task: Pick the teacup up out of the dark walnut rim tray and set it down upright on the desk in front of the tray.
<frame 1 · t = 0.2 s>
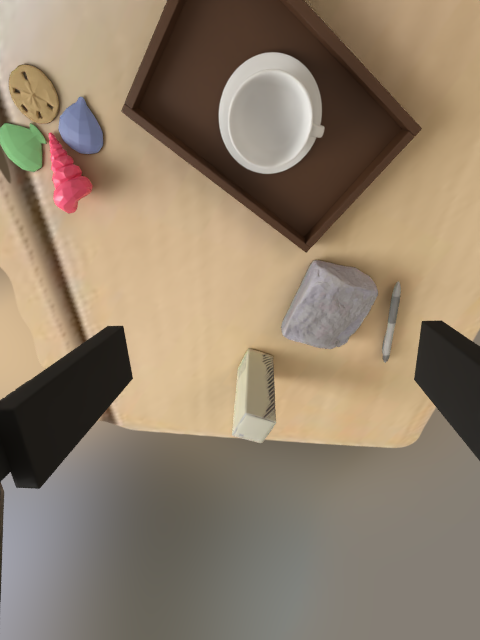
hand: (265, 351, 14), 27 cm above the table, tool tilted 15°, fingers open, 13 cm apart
stone block: (327, 301, 44), on the table
pen: (388, 320, 46), on the table
teacup: (269, 118, 32), resting on tray
box: (255, 360, 52), on the table
toy pieces: (57, 140, 34), on the table
tray: (269, 118, 32), on the table
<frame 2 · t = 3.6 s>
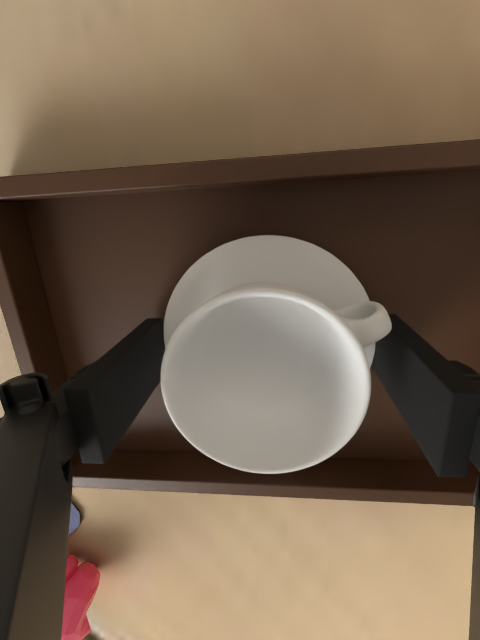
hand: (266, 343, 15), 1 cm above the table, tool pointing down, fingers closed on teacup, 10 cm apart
teacup: (266, 338, 16), resting on tray, touching gripper
toy pieces: (34, 533, 23), on the table
tray: (267, 337, 16), on the table
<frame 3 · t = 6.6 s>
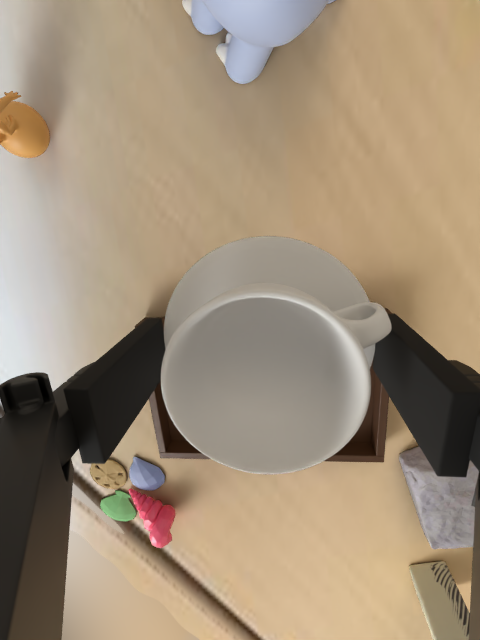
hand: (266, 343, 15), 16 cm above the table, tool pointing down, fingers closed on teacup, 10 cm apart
stone block: (452, 478, 35), on the table
teacup: (266, 338, 16), point 15 cm above the table, touching gripper
figurine: (47, 147, 29), on the table
box: (428, 573, 40), on the table
toy pieces: (136, 489, 41), on the table
tray: (264, 384, 34), on the table
when the fingers open (0 cm above the table, at t = 10.0 s): teacup stays where it is, on the table.
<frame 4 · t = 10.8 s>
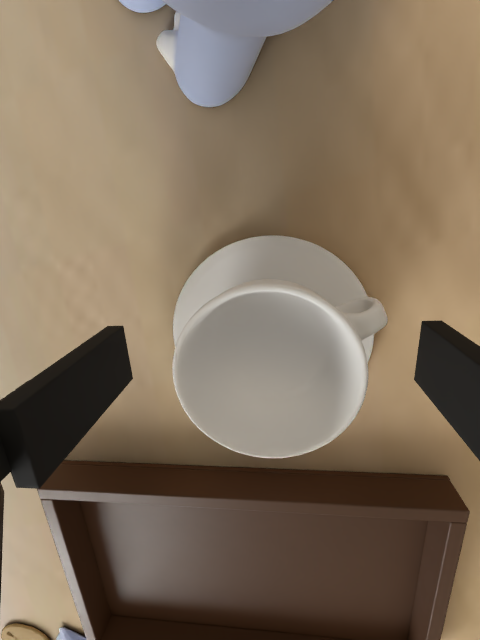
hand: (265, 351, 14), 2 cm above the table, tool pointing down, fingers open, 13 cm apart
teacup: (270, 332, 17), on the table
tray: (246, 558, 22), on the table
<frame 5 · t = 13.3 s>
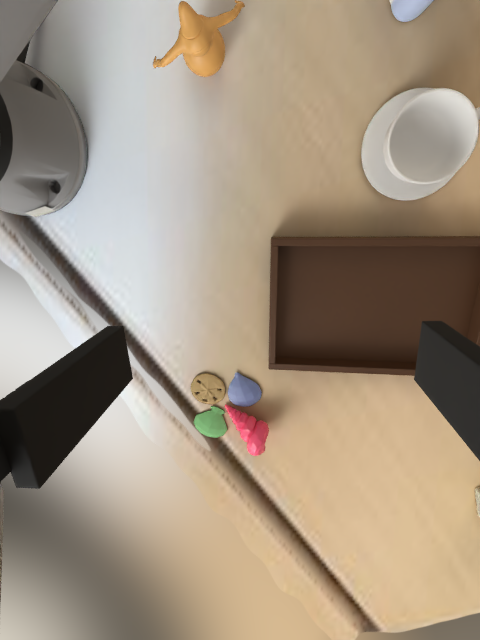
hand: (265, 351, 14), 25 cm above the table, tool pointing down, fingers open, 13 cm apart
teacup: (411, 148, 32), on the table
figurine: (213, 71, 32), on the table
toy pieces: (230, 406, 45), on the table
tray: (371, 305, 38), on the table
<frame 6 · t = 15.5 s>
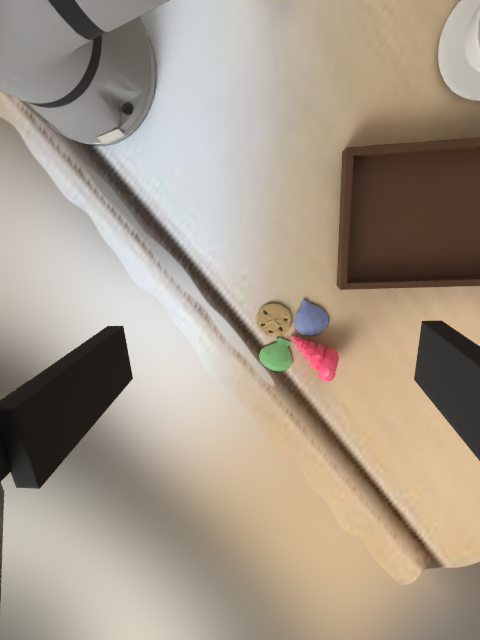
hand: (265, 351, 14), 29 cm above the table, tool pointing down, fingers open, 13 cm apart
toy pieces: (296, 337, 45), on the table
tray: (443, 217, 38), on the table
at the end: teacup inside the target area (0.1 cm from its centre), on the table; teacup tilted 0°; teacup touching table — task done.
